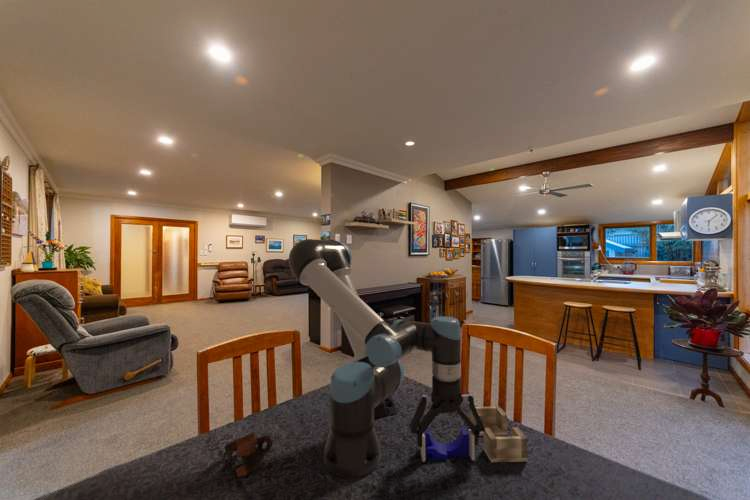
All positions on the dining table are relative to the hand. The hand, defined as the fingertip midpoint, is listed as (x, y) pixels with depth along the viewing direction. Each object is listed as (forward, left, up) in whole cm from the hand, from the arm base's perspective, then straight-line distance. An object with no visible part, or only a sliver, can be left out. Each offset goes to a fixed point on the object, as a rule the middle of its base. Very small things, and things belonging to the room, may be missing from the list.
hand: (447, 457), depth 79 cm
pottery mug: (-52, 0, -1) cm, 52 cm away
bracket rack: (+16, +6, 0) cm, 17 cm away
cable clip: (0, +2, -1) cm, 2 cm away
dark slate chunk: (-19, +31, -1) cm, 36 cm away
